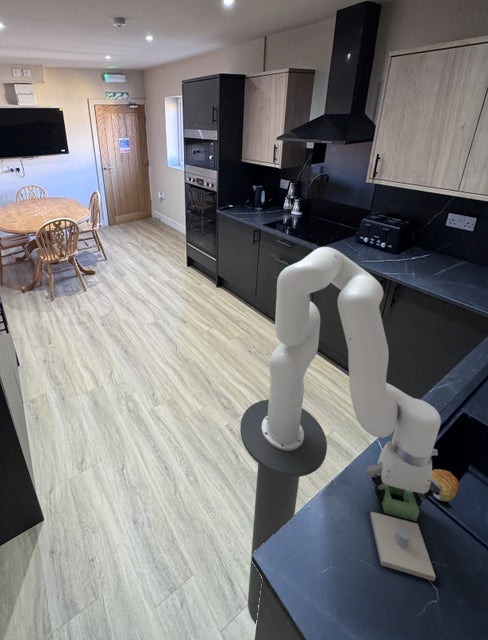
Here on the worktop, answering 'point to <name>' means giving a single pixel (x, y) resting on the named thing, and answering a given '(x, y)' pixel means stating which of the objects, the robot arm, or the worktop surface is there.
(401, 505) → the green hollow square block
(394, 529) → the base pad
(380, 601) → the worktop surface
